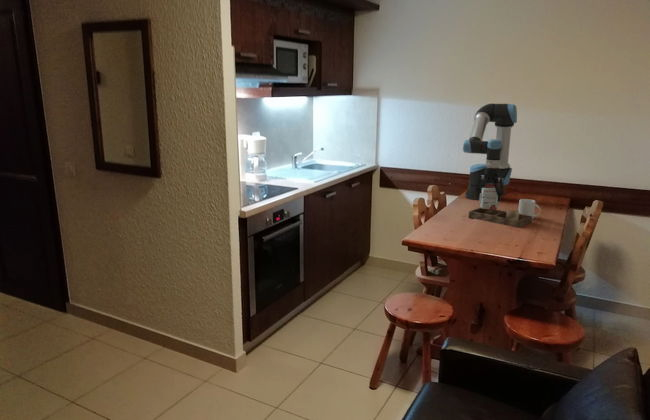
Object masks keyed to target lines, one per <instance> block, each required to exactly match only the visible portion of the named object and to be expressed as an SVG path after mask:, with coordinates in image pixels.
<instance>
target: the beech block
mask: <svg viewBox="0 0 650 420" xmlns="http://www.w3.org/2000/svg"><path fill="white" fill-rule="evenodd" d="M506 211H507V212H506V218H507V219H512V220H517V221H518V220H519V211H518V210H513V209H512V210H511V209H507V210H506Z"/></svg>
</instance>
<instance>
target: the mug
mask: <svg viewBox="0 0 650 420" xmlns="http://www.w3.org/2000/svg"><path fill="white" fill-rule="evenodd" d="M535 208H537V209H538V210H539V212H538V214H535ZM541 210H542V209H541V207H540V205H538V204H537V203H536V200H534V199H529V198H528V199H527V198H520V199H519V202H518V210H517V211H519V214H523V215H528V216H532V220H533V219H534V218H537V217H539V216H540V214H541Z"/></svg>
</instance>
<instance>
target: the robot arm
mask: <svg viewBox="0 0 650 420" xmlns="http://www.w3.org/2000/svg"><path fill="white" fill-rule="evenodd" d="M517 120H518V108H517V106H516V104H514V103H487V104H484V105H483V106H481V107H479V109H478V110H477V111H476V112H475V114H474V116H473V121H474V122H473V125H472V129H471V131H470V132H471V133H470V135H469V139H466V140H464V141H463V144H462V145H463V146H462V150H463V151H462V152H463V153H466V154H477V155H478V154H481V155H486V159H485V163H476V164H472V165H471V166H470V169H469V178H468V179H469V180H468V187H467V190H466V192H465V195H464V198H465V199H469V200H473V201H474V200H476V201H478V202H479V203H478V205H481V193H482V188H487V186H488V185H493V188H495V189H496V192H497V195H498V196H496V205H495V207H496V208H497V209H498V208H499V206H500V202H501V200H502V197H503V196H505V195H506V192H505V186H507V185H509V183H510V179H511V175H512V172H513V168H512V167H511V164H510V163H509V155H510V143H511V133H512V128H513V127H515V126H514V125H515V124H516V123H517V122H518V121H517ZM489 123H494V126H495V127H496V133H495V134H496V135H495V139H492V138H491V139H489V140H487V141H486V140H483V139H484V135H485V131H486V128H487V125H488V124H489Z"/></svg>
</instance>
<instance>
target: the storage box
mask: <svg viewBox="0 0 650 420" xmlns="http://www.w3.org/2000/svg"><path fill="white" fill-rule="evenodd" d="M507 211H508V210H506V211H505V210H501V209H498V208H497V209H482V208H481V207H480V206H479V207H477V208H475V209H472V210H469V211H468V219H472V220H474V219H476V220H480V221H487V222H490V223H494V224H500V225H505V226H510V227H514V228H519V229H520V228H522V227H524V226H527V225H528V224H530V223H531V224H532V222H533V221H532V220H533V219H532V216H528V215H523V214H519V220H518V221H517V220H512V219H507V218H506V212H507Z"/></svg>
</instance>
